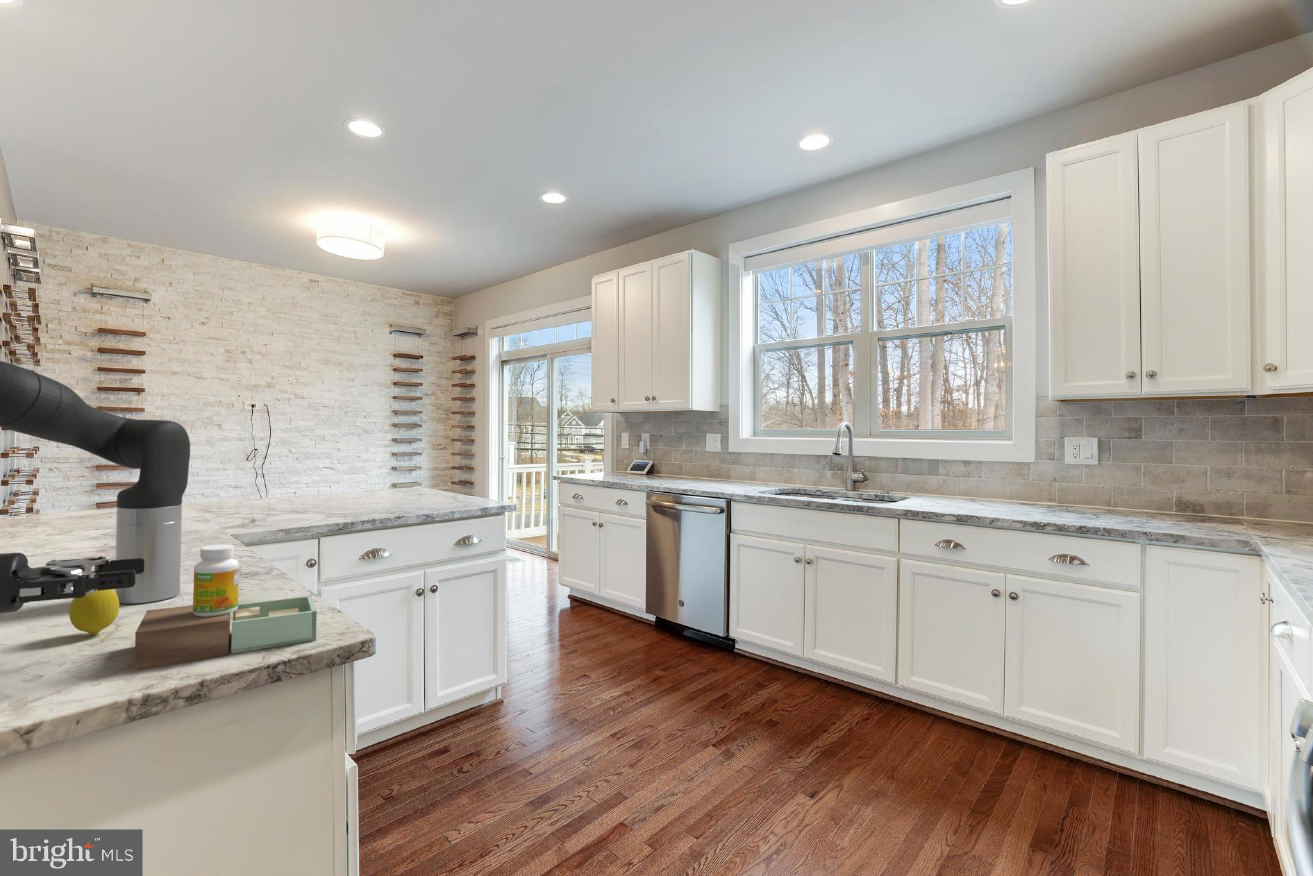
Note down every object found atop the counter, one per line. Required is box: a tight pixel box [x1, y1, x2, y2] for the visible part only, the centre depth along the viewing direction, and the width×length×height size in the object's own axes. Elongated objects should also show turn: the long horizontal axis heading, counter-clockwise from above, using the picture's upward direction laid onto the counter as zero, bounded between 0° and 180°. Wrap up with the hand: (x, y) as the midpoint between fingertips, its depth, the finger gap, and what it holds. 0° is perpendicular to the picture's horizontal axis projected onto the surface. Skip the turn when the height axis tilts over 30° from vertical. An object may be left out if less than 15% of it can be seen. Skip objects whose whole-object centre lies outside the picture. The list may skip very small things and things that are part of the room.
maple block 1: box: [235, 607, 260, 621], centre depth 89 cm, size 4×4×3 cm
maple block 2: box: [268, 608, 299, 617], centre depth 92 cm, size 4×4×3 cm
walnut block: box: [134, 604, 231, 670], centre depth 85 cm, size 11×10×5 cm
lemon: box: [68, 589, 120, 636], centre depth 90 cm, size 6×6×8 cm
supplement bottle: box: [192, 544, 240, 617], centre depth 87 cm, size 5×5×10 cm
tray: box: [230, 595, 317, 654], centre depth 91 cm, size 10×11×4 cm
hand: (140, 571), depth 82 cm, fingers open, 8 cm apart
